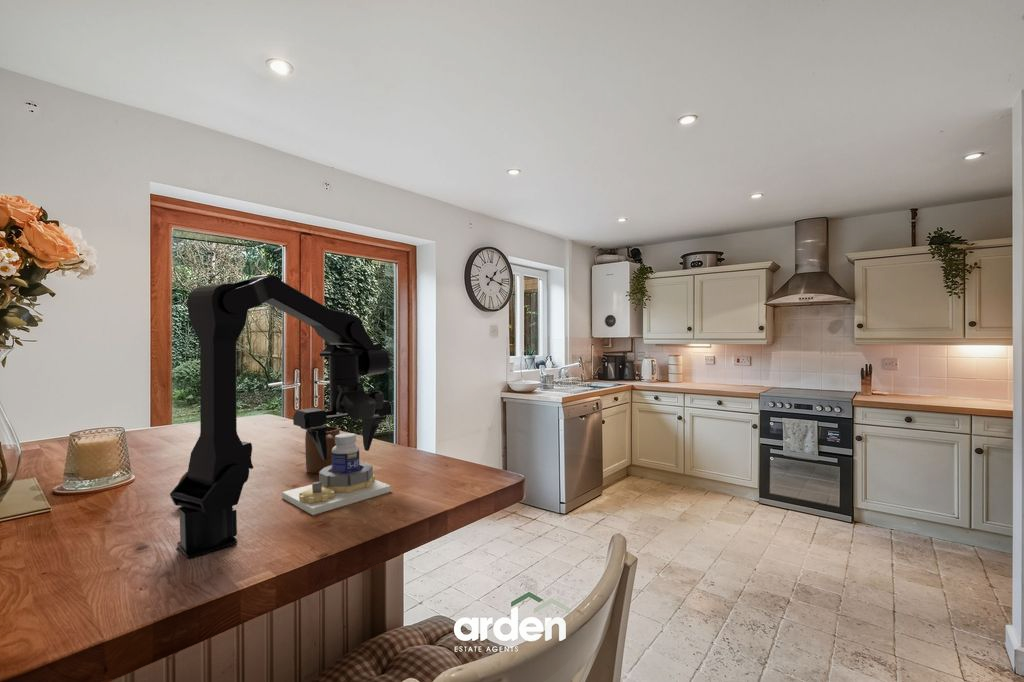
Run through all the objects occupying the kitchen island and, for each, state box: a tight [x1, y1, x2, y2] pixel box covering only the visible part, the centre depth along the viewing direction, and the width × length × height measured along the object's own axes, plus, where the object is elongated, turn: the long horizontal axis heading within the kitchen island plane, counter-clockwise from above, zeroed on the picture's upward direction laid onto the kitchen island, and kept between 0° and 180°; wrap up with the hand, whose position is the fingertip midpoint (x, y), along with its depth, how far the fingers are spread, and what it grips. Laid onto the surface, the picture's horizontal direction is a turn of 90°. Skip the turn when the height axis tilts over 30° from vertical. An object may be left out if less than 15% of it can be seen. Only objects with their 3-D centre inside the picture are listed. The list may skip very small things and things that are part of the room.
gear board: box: [281, 461, 392, 516], centre depth 94 cm, size 16×13×4 cm
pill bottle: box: [332, 432, 360, 474], centre depth 96 cm, size 5×5×9 cm
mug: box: [304, 426, 341, 474], centre depth 110 cm, size 12×8×9 cm, turn 35°
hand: (346, 455), depth 97 cm, fingers open, 9 cm apart
